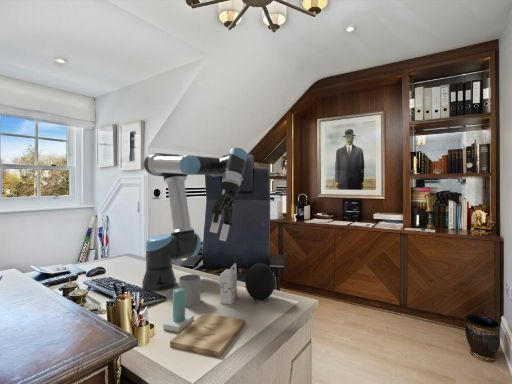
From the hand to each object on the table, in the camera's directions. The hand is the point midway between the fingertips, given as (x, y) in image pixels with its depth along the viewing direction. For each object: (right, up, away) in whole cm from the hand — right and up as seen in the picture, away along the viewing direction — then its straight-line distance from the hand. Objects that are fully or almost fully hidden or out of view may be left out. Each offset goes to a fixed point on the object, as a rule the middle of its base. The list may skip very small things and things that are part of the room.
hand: (218, 236), depth 108 cm
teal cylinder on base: (-12, -29, -10) cm, 32 cm away
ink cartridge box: (+3, -28, +12) cm, 31 cm away
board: (0, -29, -16) cm, 33 cm away
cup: (-13, -28, +10) cm, 32 cm away
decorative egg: (+16, -28, +13) cm, 35 cm away
